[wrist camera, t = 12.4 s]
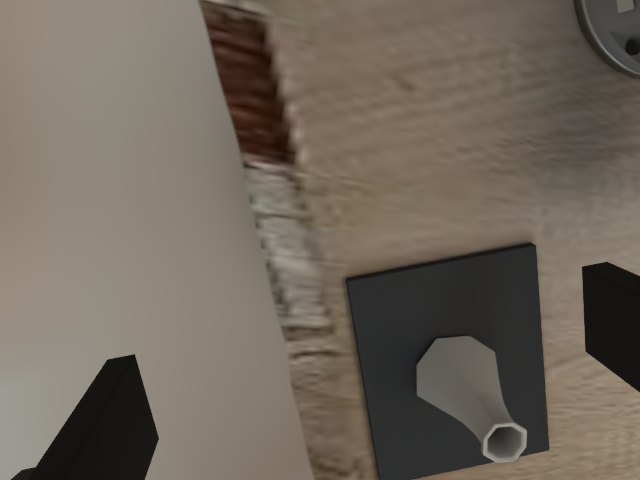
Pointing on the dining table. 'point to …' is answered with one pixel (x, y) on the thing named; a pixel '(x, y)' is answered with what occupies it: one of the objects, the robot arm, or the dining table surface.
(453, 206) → the dining table surface
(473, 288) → the placemat
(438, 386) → the flask
